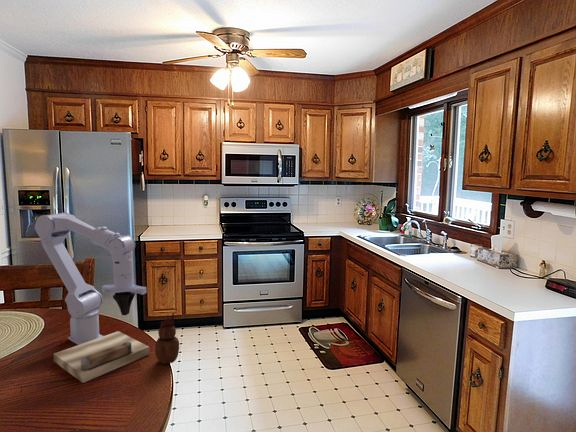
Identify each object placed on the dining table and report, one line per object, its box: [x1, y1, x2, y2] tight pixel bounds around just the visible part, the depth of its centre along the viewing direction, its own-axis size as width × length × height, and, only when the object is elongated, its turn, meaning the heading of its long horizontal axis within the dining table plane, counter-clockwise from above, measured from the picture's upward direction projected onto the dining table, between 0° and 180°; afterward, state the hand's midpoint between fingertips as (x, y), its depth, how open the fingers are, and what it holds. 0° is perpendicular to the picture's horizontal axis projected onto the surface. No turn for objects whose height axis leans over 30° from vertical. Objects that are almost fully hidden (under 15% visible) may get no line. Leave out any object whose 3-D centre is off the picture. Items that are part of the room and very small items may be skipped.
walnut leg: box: [81, 342, 132, 370], centre depth 106 cm, size 14×3×2 cm, turn 141°
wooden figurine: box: [154, 312, 180, 365], centre depth 110 cm, size 7×6×15 cm
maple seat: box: [53, 330, 150, 384], centre depth 112 cm, size 18×20×3 cm
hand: (125, 314), depth 120 cm, fingers closed
